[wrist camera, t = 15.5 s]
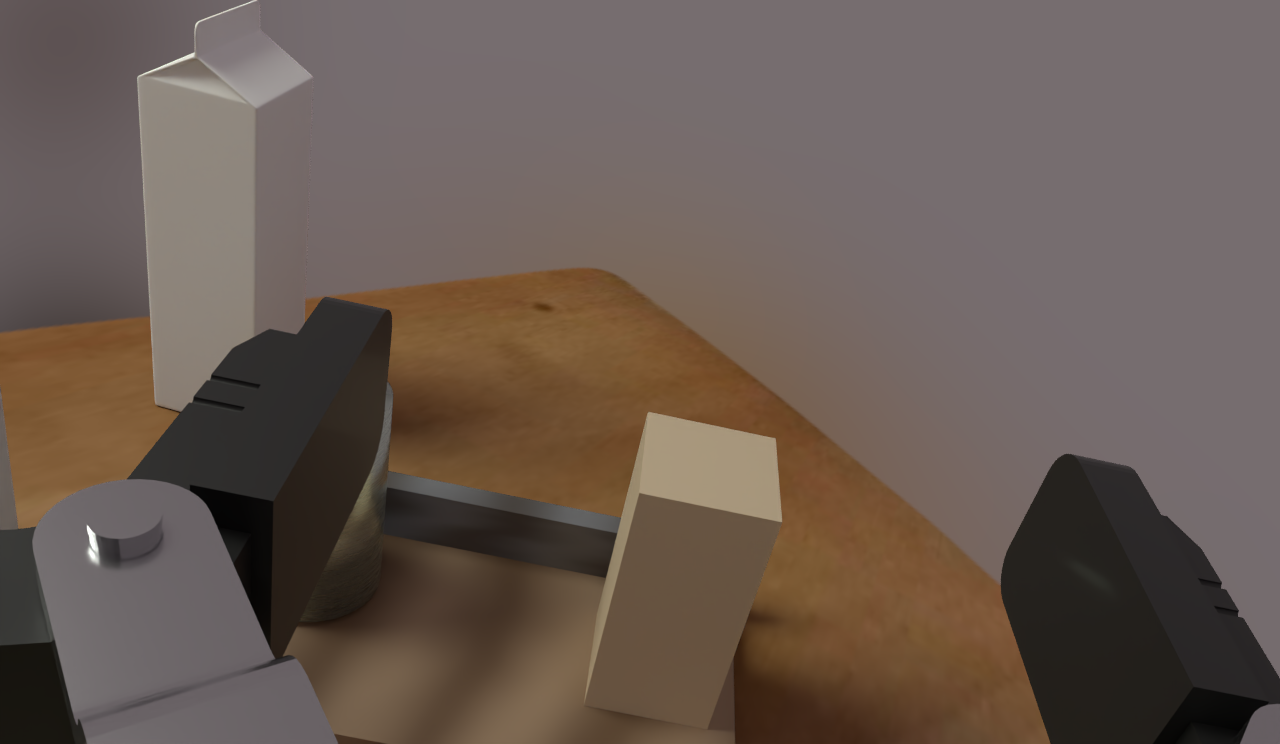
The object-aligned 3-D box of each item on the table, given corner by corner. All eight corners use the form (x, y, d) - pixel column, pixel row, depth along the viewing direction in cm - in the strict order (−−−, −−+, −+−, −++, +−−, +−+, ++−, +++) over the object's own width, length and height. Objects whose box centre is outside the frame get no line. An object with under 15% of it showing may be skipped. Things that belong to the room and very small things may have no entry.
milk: (303, 381, 62) (320, 14, 51) (254, 435, 57) (261, 40, 46) (207, 354, 63) (204, -17, 51) (150, 405, 57) (132, 5, 46)
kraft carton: (583, 705, 45) (639, 492, 38) (597, 612, 49) (648, 409, 43) (707, 729, 45) (781, 522, 39) (708, 634, 50) (775, 436, 43)
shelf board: (146, 718, 41) (140, 645, 39) (268, 510, 52) (269, 445, 50) (729, 826, 42) (755, 762, 40) (726, 601, 54) (747, 541, 51)
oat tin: (239, 625, 44) (235, 433, 39) (248, 535, 49) (246, 354, 44) (382, 619, 46) (396, 434, 41) (378, 532, 51) (389, 358, 46)
